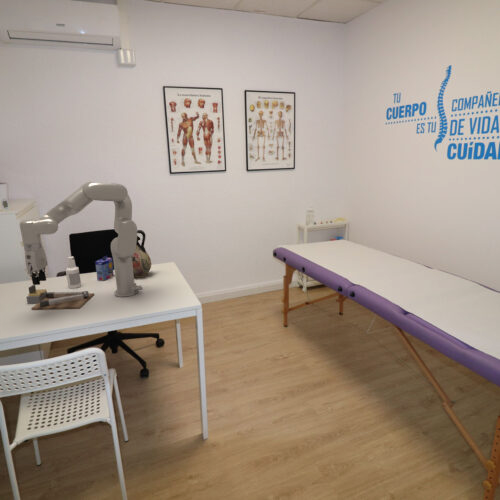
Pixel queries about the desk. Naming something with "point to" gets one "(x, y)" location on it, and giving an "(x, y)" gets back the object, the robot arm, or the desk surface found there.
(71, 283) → the spray bottle
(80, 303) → the tong board
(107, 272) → the ink cartridge box
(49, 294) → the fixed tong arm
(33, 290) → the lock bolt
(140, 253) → the ceramic jug
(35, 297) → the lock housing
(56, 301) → the tong arm
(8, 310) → the desk surface
